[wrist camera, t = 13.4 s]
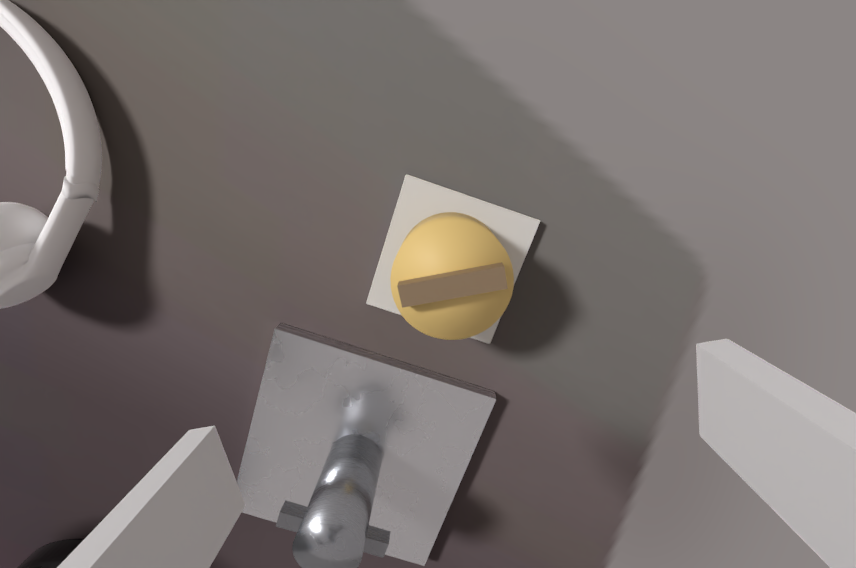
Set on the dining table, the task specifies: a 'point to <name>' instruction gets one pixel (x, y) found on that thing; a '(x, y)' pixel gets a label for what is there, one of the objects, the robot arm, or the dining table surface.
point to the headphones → (53, 237)
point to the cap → (451, 277)
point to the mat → (434, 199)
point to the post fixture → (356, 449)
